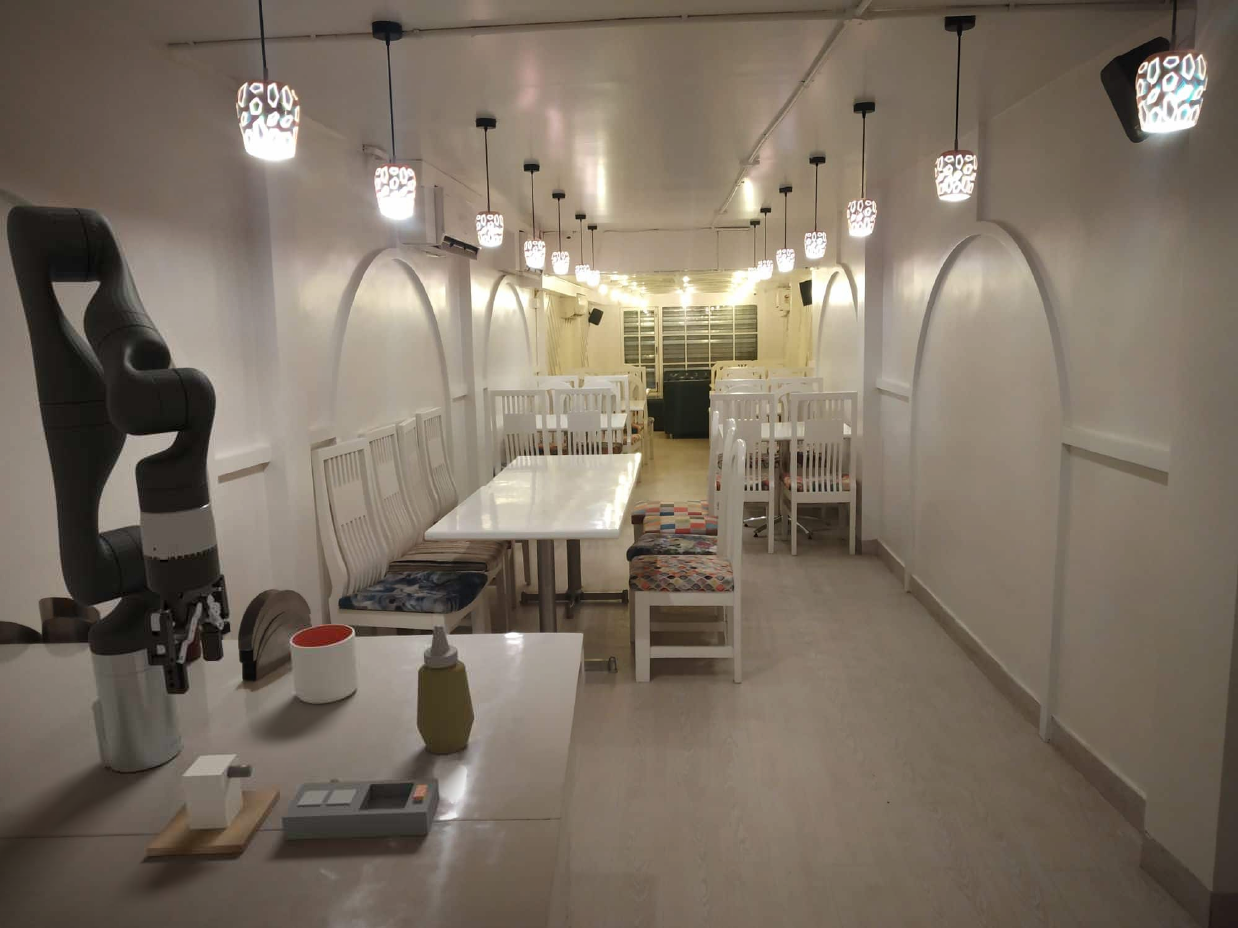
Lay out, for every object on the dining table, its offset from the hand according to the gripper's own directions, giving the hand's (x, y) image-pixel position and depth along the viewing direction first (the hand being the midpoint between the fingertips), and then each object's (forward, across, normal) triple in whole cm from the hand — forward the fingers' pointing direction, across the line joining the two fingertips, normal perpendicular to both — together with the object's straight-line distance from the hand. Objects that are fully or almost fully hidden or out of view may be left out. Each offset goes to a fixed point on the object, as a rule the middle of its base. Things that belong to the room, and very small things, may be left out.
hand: (196, 675), depth 97 cm
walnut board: (+20, 0, 0) cm, 20 cm away
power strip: (+19, -2, +18) cm, 27 cm away
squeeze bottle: (+20, -17, +25) cm, 36 cm away
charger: (+19, 0, +2) cm, 19 cm away
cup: (+20, -35, +2) cm, 40 cm away
